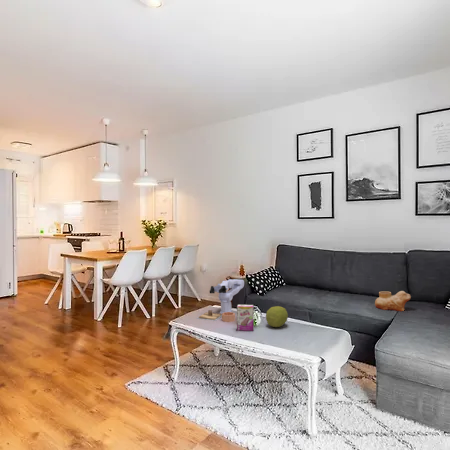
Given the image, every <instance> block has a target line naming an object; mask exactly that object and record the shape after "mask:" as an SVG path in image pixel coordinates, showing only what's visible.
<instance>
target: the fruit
mask: <svg viewBox="0 0 450 450" xmlns="http://www.w3.org/2000/svg"><path fill="white" fill-rule="evenodd" d="M288 318H289V314H288V311H287V309H286V308H285V307H282V306H279V305H277V306H276V305H275V306H271V307H270V308H269V309H267V310H266V314H265V320H266V322H267V325H268V326H270V327H273V328H280V327H283V325H284V324H285V323H286V322H287V321H288Z"/></svg>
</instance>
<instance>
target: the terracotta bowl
mask: <svg viewBox="0 0 450 450" xmlns="http://www.w3.org/2000/svg"><path fill="white" fill-rule="evenodd" d="M221 314H222V317H221V320H222V322H224V323H225V322H226V323H231V322H232V323H233V322H235V321H236V313H235V312H233V311H231V312H224V313H221Z"/></svg>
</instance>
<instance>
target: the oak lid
mask: <svg viewBox="0 0 450 450" xmlns="http://www.w3.org/2000/svg"><path fill="white" fill-rule="evenodd" d="M221 315H222V313H219V312H218V313H217V312H213V310H212V309H211V310H210V309H209V310H207V311H206V312H204V313H203V314H201V315H200V316H198V317H199V318H202V319H201V320H204V319H210V320H209V321H213V320H215V319H217V318H218V317H220V316H221ZM220 318H221V317H220Z"/></svg>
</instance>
